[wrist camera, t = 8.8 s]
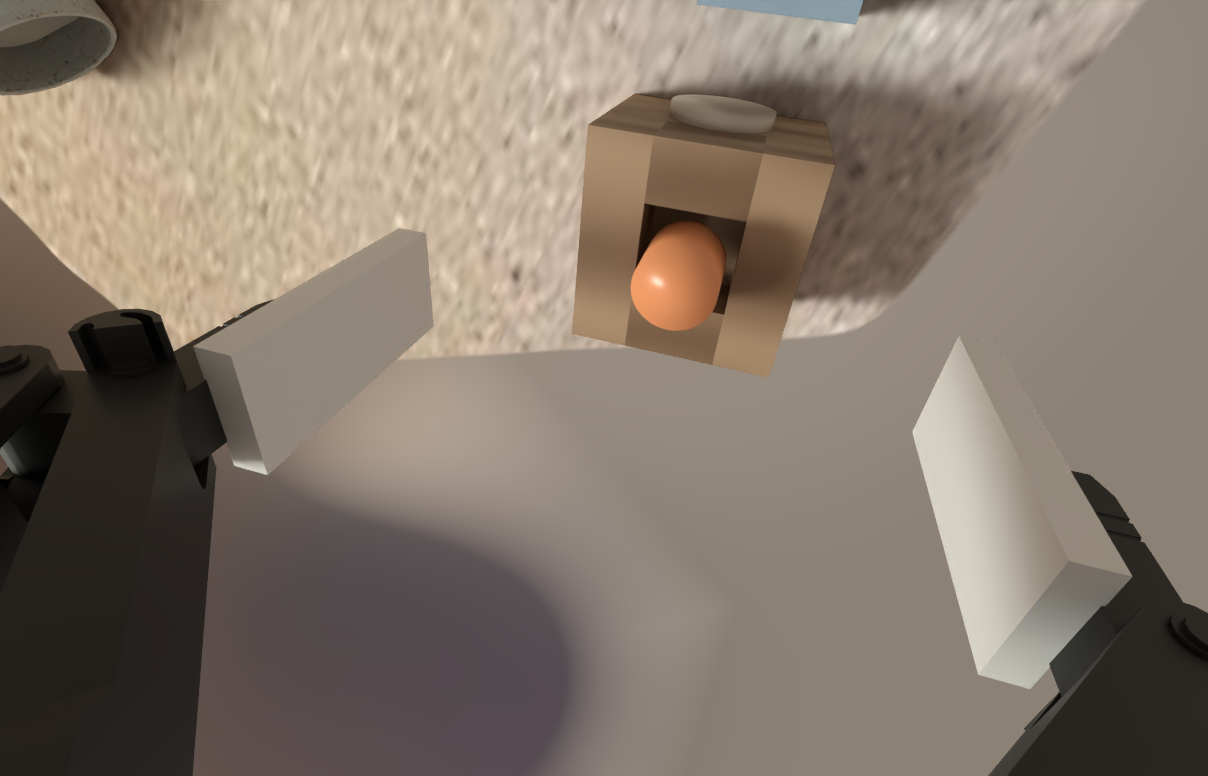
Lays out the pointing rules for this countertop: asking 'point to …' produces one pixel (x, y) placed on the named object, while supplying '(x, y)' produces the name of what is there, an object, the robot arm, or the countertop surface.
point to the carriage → (797, 8)
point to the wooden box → (700, 218)
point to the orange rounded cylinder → (679, 276)
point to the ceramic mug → (50, 43)
